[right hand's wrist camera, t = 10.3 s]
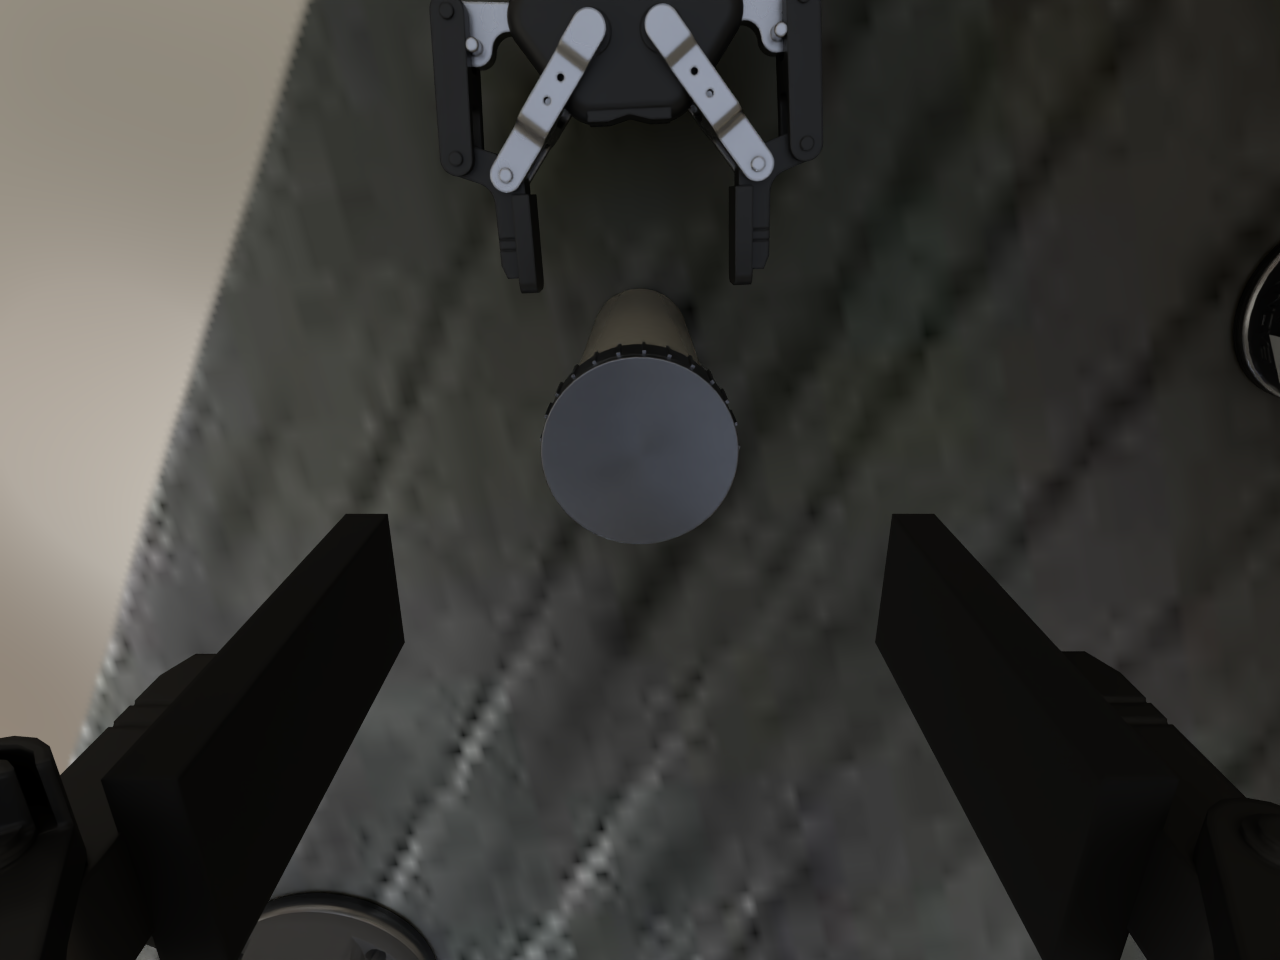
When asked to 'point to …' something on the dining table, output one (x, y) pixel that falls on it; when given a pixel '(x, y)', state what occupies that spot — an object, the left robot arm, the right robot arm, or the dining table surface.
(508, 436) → the dining table surface
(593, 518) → the lid
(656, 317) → the jar
